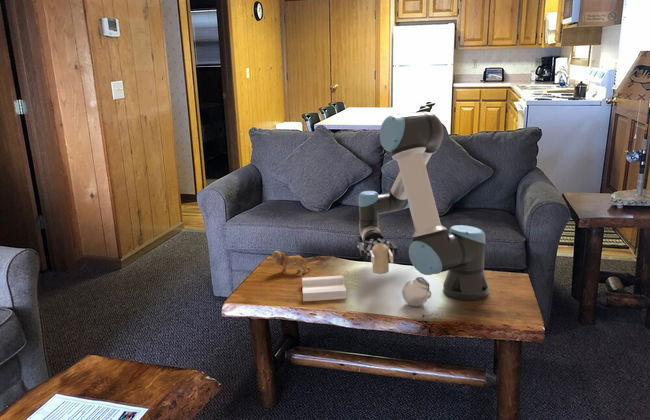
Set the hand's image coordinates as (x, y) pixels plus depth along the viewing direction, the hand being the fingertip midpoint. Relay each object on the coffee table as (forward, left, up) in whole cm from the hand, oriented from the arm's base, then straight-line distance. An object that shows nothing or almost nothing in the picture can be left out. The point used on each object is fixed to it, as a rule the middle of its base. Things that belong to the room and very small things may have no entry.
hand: (382, 260), depth 180 cm
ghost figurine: (-10, +6, -14) cm, 19 cm away
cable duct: (+20, -9, -14) cm, 26 cm away
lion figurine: (+32, -29, -15) cm, 46 cm away
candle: (0, -5, -6) cm, 8 cm away
